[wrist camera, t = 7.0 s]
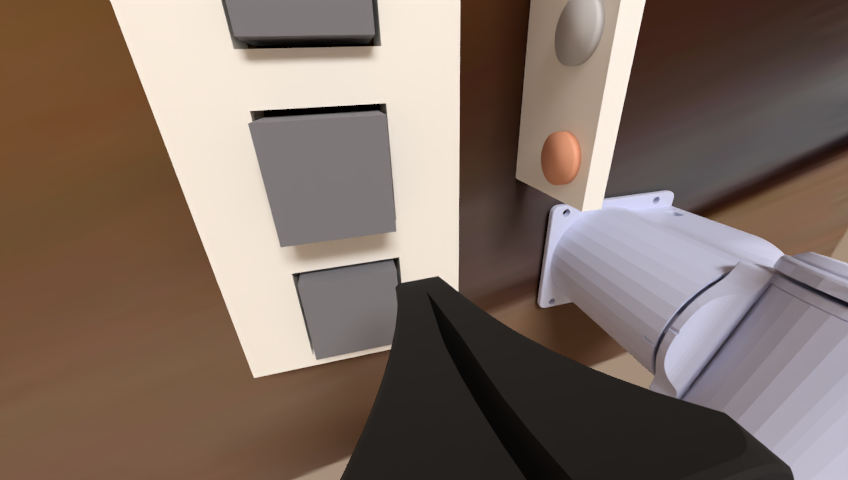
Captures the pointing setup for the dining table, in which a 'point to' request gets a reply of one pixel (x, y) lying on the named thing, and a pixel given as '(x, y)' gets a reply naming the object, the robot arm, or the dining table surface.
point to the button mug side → (302, 21)
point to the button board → (287, 89)
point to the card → (575, 95)
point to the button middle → (326, 175)
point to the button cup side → (350, 307)
